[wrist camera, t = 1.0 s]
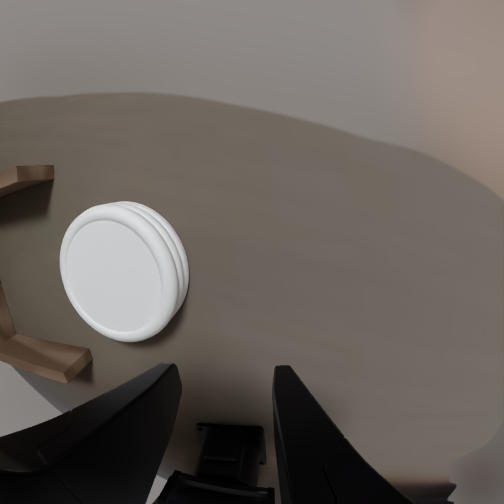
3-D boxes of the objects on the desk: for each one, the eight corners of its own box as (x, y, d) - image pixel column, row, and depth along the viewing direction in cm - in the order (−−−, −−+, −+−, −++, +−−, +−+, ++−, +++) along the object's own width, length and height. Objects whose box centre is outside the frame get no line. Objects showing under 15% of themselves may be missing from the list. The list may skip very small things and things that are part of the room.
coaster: (66, 241, 21) (39, 250, 18) (147, 174, 19) (123, 174, 16) (124, 339, 23) (104, 359, 20) (216, 294, 21) (204, 315, 17)
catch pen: (92, 358, 24) (68, 383, 19) (14, 341, 25) (-8, 357, 21) (53, 165, 20) (16, 166, 15) (-18, 194, 21) (-46, 198, 17)
